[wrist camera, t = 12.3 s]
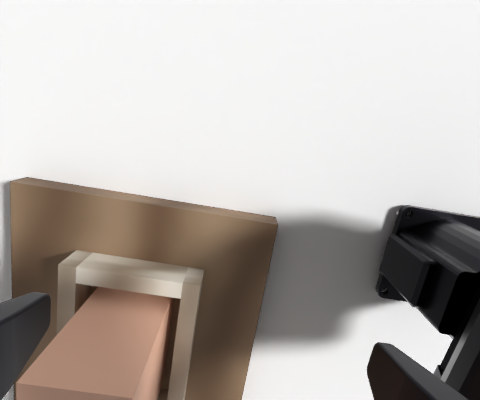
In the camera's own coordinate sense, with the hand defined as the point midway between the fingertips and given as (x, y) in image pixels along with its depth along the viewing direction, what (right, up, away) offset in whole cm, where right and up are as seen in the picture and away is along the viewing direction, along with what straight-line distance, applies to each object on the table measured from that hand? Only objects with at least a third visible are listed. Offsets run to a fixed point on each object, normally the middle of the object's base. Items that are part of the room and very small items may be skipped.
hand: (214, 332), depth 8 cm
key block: (-6, -5, +12) cm, 15 cm away
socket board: (-6, -5, +14) cm, 16 cm away
